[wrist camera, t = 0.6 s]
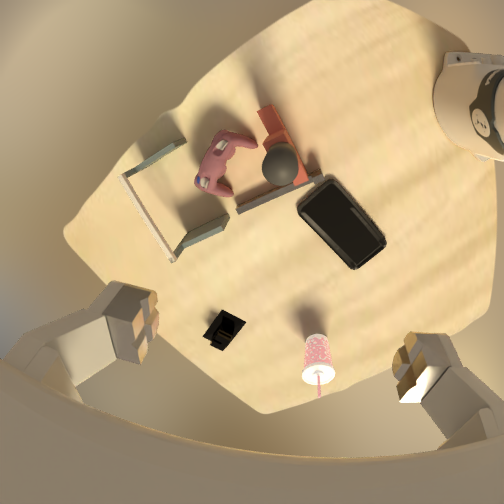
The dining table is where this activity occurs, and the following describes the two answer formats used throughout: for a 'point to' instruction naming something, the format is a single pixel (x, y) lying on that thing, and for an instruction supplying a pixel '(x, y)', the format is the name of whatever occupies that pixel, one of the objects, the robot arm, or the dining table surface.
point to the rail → (278, 192)
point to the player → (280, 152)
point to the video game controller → (220, 161)
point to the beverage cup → (317, 361)
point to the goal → (187, 241)
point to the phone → (341, 224)
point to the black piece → (223, 330)
